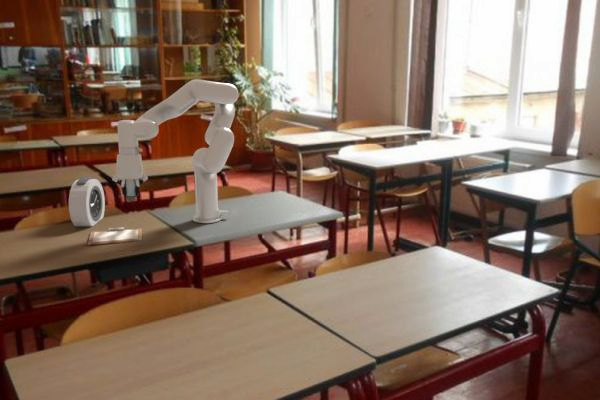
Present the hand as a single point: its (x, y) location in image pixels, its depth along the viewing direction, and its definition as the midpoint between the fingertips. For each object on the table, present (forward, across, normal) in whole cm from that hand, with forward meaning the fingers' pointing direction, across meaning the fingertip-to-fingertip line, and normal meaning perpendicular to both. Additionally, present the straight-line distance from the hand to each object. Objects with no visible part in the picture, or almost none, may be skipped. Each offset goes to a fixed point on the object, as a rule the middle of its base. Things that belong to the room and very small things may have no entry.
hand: (131, 195), depth 232 cm
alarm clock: (+16, +19, -20) cm, 32 cm away
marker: (+2, 0, 0) cm, 2 cm away
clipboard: (+16, +6, +5) cm, 18 cm away
